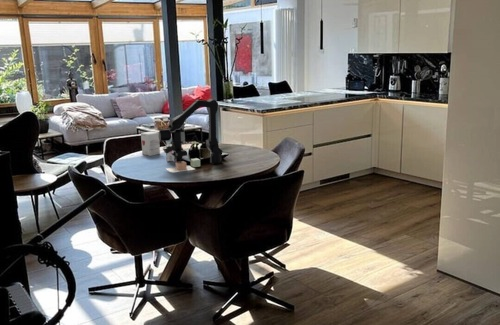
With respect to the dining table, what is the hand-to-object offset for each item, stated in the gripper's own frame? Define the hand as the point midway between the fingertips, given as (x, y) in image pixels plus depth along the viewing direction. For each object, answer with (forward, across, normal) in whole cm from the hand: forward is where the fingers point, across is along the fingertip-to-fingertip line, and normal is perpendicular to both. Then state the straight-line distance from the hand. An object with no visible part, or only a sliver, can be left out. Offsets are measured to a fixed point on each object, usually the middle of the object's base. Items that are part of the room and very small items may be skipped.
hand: (178, 165), depth 284 cm
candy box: (+2, -22, +5) cm, 22 cm away
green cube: (+2, +3, +10) cm, 11 cm away
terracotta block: (+1, +5, 0) cm, 5 cm away
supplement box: (+2, -47, -3) cm, 47 cm away
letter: (+2, +5, 0) cm, 6 cm away
